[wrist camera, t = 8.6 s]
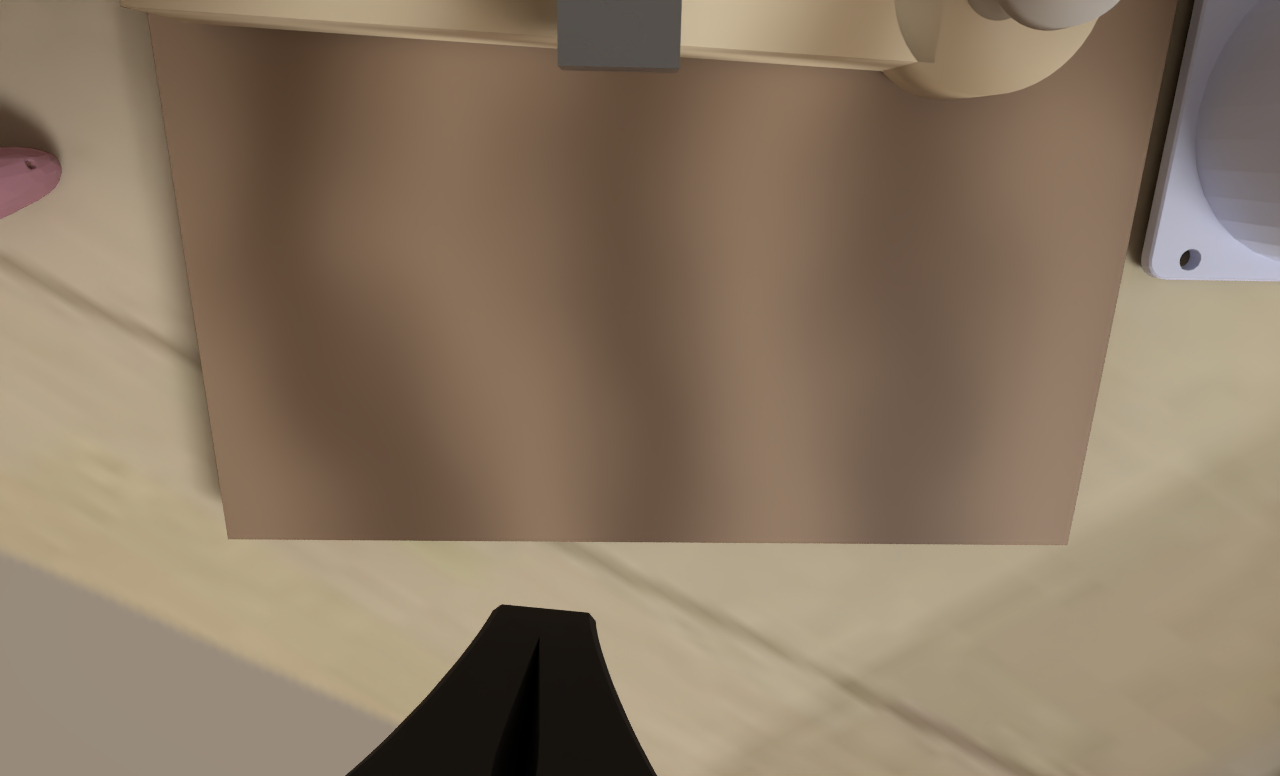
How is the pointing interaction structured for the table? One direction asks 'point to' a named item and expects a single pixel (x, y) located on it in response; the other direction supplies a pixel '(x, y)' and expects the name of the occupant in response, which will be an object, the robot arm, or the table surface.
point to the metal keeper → (619, 35)
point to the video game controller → (25, 177)
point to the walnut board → (648, 288)
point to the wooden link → (736, 32)
